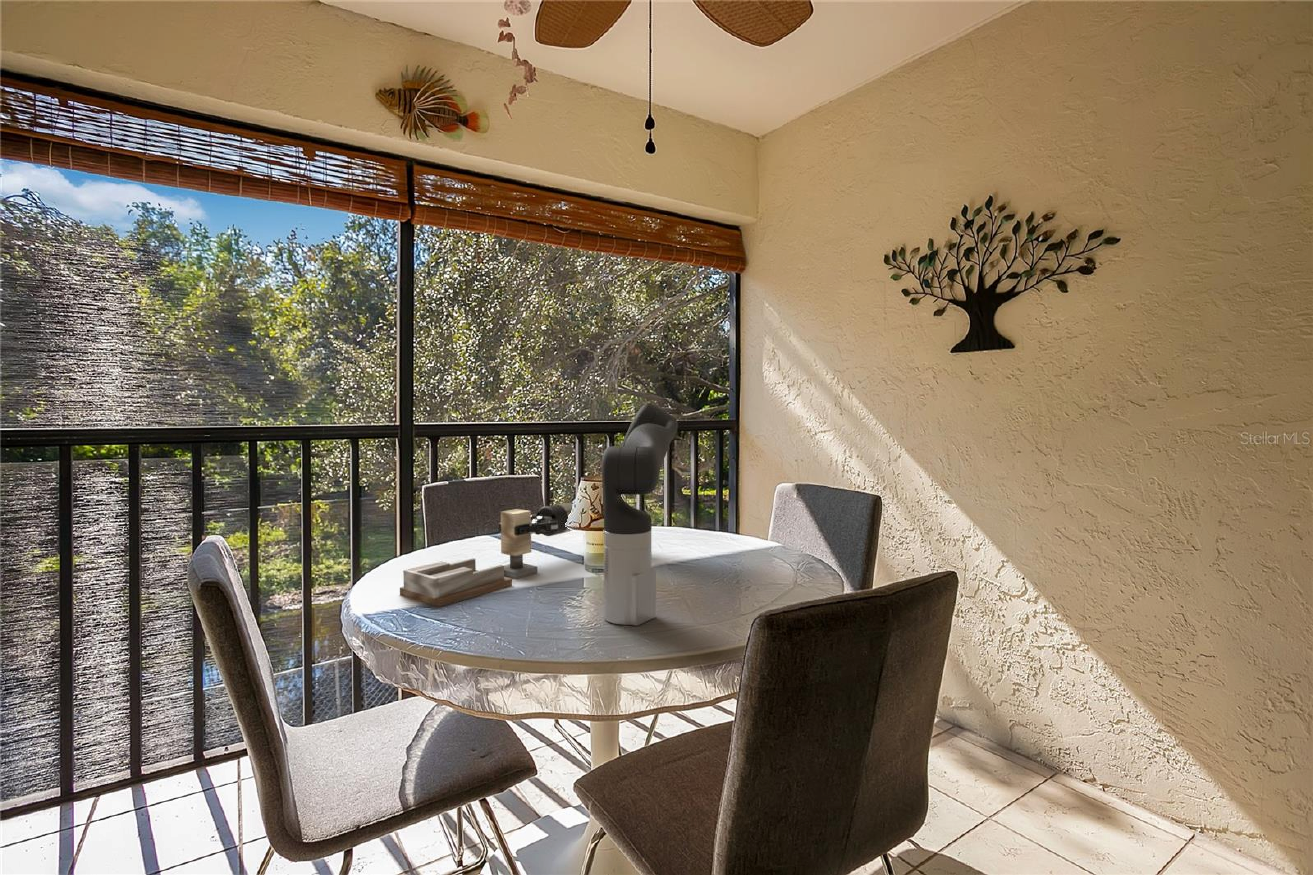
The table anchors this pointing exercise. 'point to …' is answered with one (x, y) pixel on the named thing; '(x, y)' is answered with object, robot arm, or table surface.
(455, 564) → the track
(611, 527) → the robot arm
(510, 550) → the keyhole post
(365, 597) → the table surface
